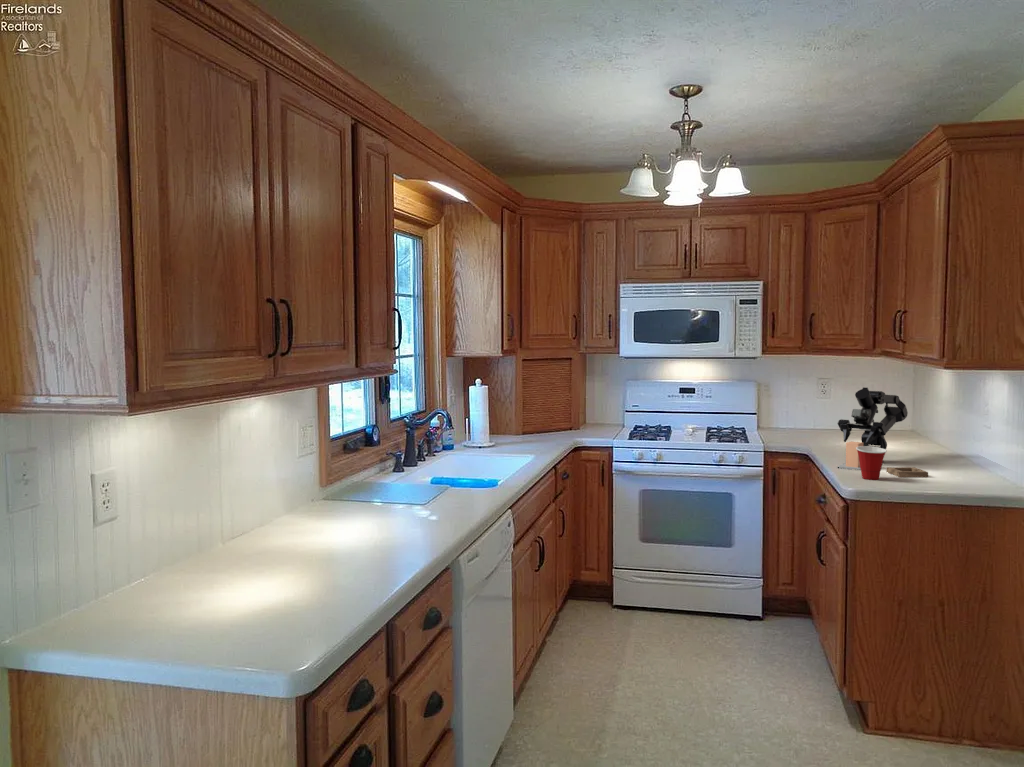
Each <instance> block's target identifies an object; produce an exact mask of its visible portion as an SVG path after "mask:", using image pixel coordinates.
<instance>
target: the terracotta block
mask: <svg viewBox="0 0 1024 767" xmlns="http://www.w3.org/2000/svg"><path fill="white" fill-rule="evenodd" d="M859 446H863V442H862V441H846V442H845V463H846V466H849V467H857V468H858V467H860V462H859V456H858V451H857V449H856V447H859Z"/></svg>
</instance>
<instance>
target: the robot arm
mask: <svg viewBox="0 0 1024 767" xmlns="http://www.w3.org/2000/svg"><path fill="white" fill-rule="evenodd" d="M854 395H855V399H856V401H857V403H858V405H859V406H860V407H861V409H859V408H853V409H852V411H851V417H852V418H853V421H854V422H850V420H849V419H842V418H841V419H839V420H838V421H837V425H838V426H837V427H839V430H840V431H841V432H842V433H843V442H844V443H847V442H848V441H847V440H848V439H849V437H850V435H851V432H852V430H853V429H858V430H861V431H862V430H863V431H864V432H863V433H862V434H861V438H860V440H861V442H863V446H871V447H879V448H883V449H886V450H887V449H888V448H887V447H888V443H887V441H886V438H885V436H886V434H887V433H888V431H890V430H891V428H892V427H893V426H894V425H896V423H900V422H903V421H904V420H905V419H906V418H907V417H908V409H907V405H906V404H905V402H903V401H902V400H901V399H900V397H899V395H897V394H886V393H885V392H884V391H882V390H881V391H880V390H869V388H868V387H862V388H861V389H859V390H857V391H856V392H855V394H854ZM883 404H885V406H884V408H883V411H884V414H885V416H884V417H883V418H882V419H881V420H880V421H875V420H874V418H875V416H876V414H878V413H879V410H878V409H879V408H878V405H883ZM889 404H890V405H892V404H893V405H895V406H889ZM884 462H885V460H884V459H883V462H882V463H884Z"/></svg>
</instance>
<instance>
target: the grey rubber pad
mask: <svg viewBox="0 0 1024 767" xmlns="http://www.w3.org/2000/svg"><path fill="white" fill-rule="evenodd" d="M837 467H839V468H838V469H841V468H847V469H846V470H852V469H857V470H856V471H861V469H860V467H858V468H857V467H849V466H846V462H844V463H841V464H840V465H837V466H836V468H837Z"/></svg>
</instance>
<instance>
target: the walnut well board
mask: <svg viewBox="0 0 1024 767" xmlns="http://www.w3.org/2000/svg"><path fill="white" fill-rule="evenodd" d="M885 471H886V473H887V472H888V474H890V475H892V474H893V475H892V476H894V477H897V476H898V478H929V471H926V470H923V469H920V468H918V467H915V466H913V467H912V466H910V467H909V466H904V467H902V466H897V467H895V466H891V467H890V466H889V467H888V466H887V467H886V470H885Z"/></svg>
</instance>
